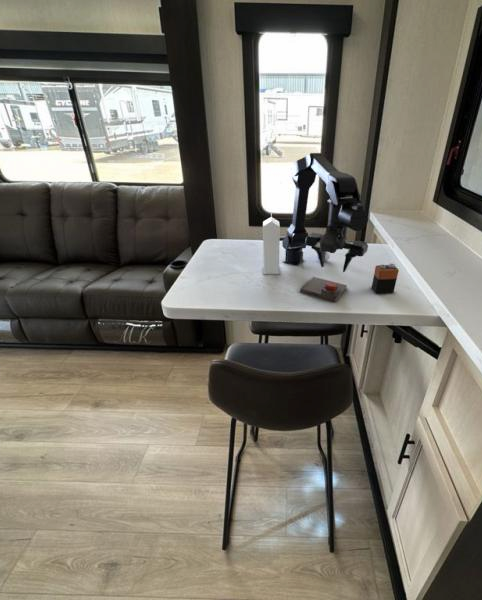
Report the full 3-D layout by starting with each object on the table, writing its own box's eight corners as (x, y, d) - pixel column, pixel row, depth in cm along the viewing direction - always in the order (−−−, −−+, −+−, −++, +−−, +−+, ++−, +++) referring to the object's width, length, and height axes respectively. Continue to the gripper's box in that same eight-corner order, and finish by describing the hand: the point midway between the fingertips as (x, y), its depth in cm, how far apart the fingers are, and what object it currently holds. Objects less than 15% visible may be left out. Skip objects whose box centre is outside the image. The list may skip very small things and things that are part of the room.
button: (323, 289, 101) (324, 284, 101) (327, 285, 104) (328, 280, 103) (333, 292, 100) (334, 287, 99) (337, 287, 103) (338, 283, 102)
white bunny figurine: (318, 263, 128) (319, 245, 124) (315, 257, 133) (316, 239, 129) (330, 263, 128) (332, 245, 124) (327, 257, 134) (329, 239, 130)
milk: (278, 268, 123) (279, 212, 112) (279, 274, 117) (280, 217, 106) (263, 267, 122) (263, 212, 111) (263, 274, 117) (262, 217, 106)
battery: (394, 293, 107) (400, 267, 102) (375, 294, 106) (381, 267, 101) (388, 287, 111) (394, 261, 106) (370, 288, 110) (375, 262, 105)
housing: (299, 292, 105) (299, 283, 103) (313, 280, 114) (313, 271, 112) (335, 303, 100) (336, 293, 98) (347, 289, 109) (348, 280, 107)
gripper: (298, 222, 88) (296, 271, 96) (360, 233, 81) (353, 286, 89) (314, 214, 97) (311, 260, 105) (372, 223, 89) (364, 272, 97)
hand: (333, 269), depth 99 cm, fingers open, 7 cm apart
